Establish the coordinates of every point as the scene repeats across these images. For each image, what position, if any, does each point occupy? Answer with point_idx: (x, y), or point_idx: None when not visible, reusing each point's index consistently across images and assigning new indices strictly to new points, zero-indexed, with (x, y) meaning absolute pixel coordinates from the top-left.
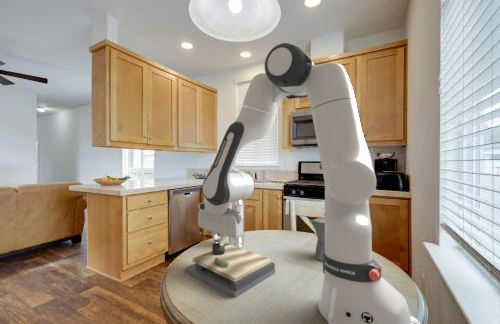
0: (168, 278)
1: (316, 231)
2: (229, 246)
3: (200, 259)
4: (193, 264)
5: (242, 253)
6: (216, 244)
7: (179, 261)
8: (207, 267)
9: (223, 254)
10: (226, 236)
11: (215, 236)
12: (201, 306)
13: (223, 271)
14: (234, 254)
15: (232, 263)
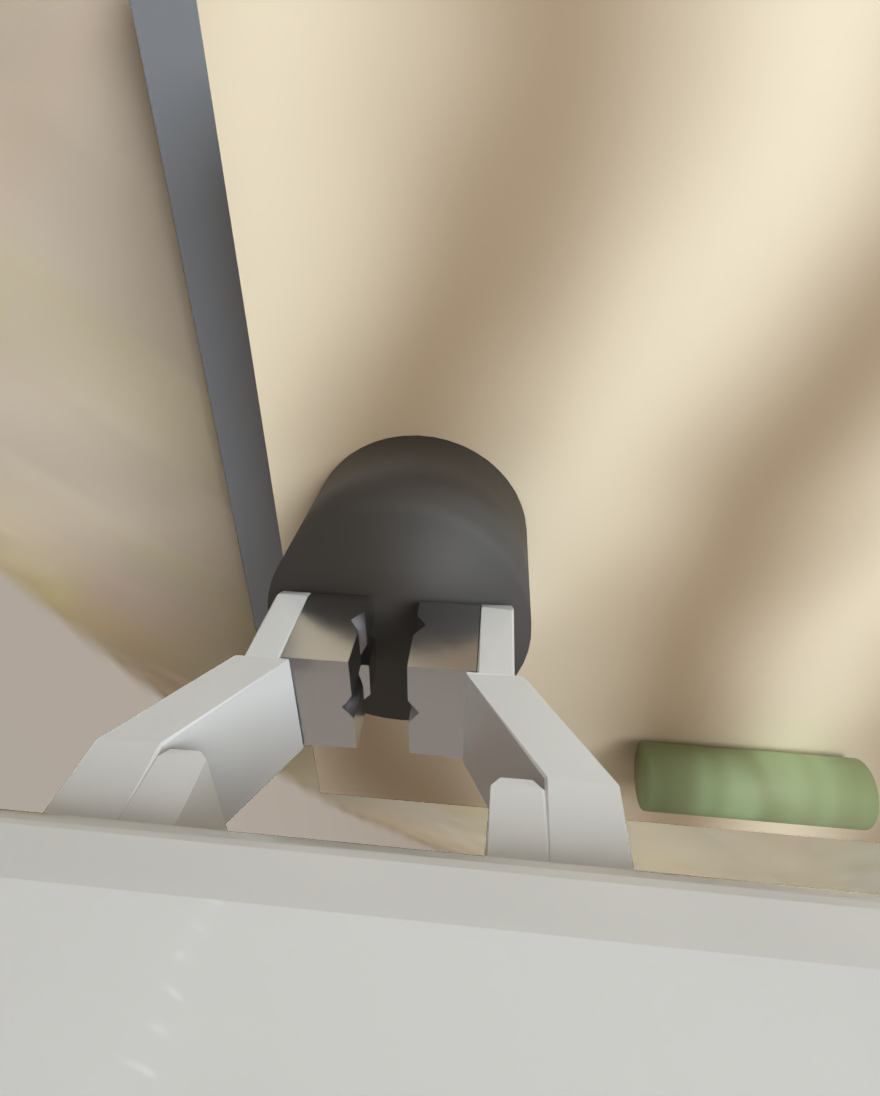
0: (299, 776)
1: None
2: (300, 101)
3: (419, 779)
4: (256, 628)
5: (855, 237)
6: (373, 661)
7: (20, 570)
8: None
9: (536, 532)
10: (614, 781)
11: (245, 754)
12: (771, 868)
13: (856, 832)
14: (711, 406)
15: (864, 667)
